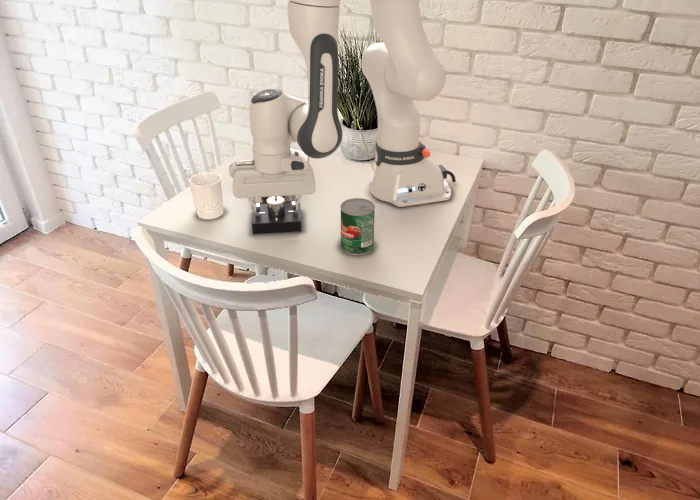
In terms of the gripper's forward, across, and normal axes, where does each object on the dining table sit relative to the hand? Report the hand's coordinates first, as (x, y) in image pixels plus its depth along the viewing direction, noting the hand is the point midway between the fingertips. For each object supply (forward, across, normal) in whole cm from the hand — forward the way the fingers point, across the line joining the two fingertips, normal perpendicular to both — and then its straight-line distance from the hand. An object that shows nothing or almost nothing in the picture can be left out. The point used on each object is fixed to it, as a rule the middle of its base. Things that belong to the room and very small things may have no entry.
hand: (276, 210), depth 141 cm
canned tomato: (+4, +19, -13) cm, 23 cm away
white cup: (+4, -17, +7) cm, 19 cm away
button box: (+4, -1, +12) cm, 13 cm away
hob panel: (+4, 0, 0) cm, 4 cm away
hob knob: (+1, 0, 0) cm, 1 cm away
